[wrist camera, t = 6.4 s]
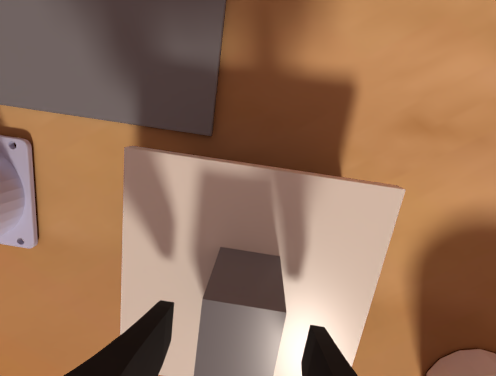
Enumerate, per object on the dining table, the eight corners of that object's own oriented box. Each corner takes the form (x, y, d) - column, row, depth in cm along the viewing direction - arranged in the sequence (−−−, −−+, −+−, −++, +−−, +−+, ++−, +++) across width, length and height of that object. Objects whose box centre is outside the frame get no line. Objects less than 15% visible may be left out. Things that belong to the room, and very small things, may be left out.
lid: (126, 356, 16) (71, 450, 12) (132, 145, 13) (60, 159, 8) (336, 391, 16) (365, 502, 11) (397, 185, 13) (473, 222, 8)
